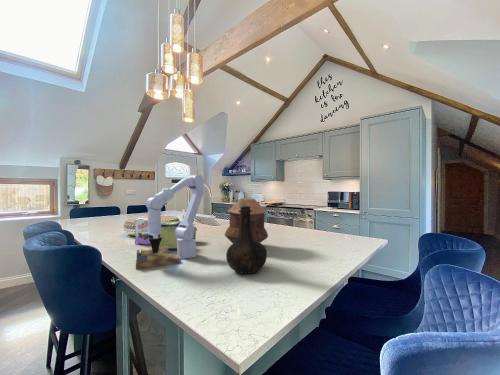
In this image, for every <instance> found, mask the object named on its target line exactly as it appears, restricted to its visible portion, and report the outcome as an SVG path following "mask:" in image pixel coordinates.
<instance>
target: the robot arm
mask: <svg viewBox="0 0 500 375" xmlns="http://www.w3.org/2000/svg"><path fill="white" fill-rule="evenodd" d="M205 184H206V183H205V179H204V176H202V175H201V174H192V175H191V174H190V175H186V176H185V177H183V178H182V179H181V180H179V181H178V182H177V183H176V184H174V185H173V186H172V187H170V188H168V187H167V188H165V187H164V188H162V189H161V191H160V192H158V193H157V194H154V195H153V197H149V198H148V199H147V200H146V203H145V207H146V208H147V218H148V232H146V234H149V235H148V237H149V241H150V243H151V245H150V246H151V248H152V251H153V253H158V250H159V245H160V242H161V240H162V238H159V237H160V234H161V233H162V231H161V222H162V213H161V212H162V208H163V207H164V204H166V203H168V202H169V201H170V200H172V199H173V198H174V196H175V194H176V193H177V192H179V191H181V190H182V189H184V188H186V187H187V188H188V189H189V190H190V191H191V192H192V195H191V197H190V199H189V203H188V206H187V209H186V212H185V214H184V216H183V219H182V221H179V222H180V223H179V226H178V227H177V228H176V229H175V236H176V237H177V251H176V254H177V255H178V256H179V260H184V259H190V258H197V242H196V239H192V238H193V236H194V228H195V227H196V226H195V225H194V222H195V218H196V216H197V213H198V211H199V207H200V204H201V201H202V198H203V196H204V190H205V189H204V187H205ZM194 226H195V227H194Z"/></svg>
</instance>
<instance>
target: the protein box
mask: <svg viewBox="0 0 500 375" xmlns="http://www.w3.org/2000/svg"><path fill="white" fill-rule="evenodd" d="M180 222H181V221H161V231H162V233H161V234H160V237H159V238H162V240H161V242H160V245H159V247H165V246H168V252H169V251H170V252H171V251H172V252H174V251H175V252H177V237H176V236H175V229H176V228H177V227H178V226H179V223H180Z"/></svg>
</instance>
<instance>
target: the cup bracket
mask: <svg viewBox="0 0 500 375" xmlns="http://www.w3.org/2000/svg"><path fill="white" fill-rule="evenodd" d="M136 259H137V263H143V262H147V255H143V256H141V249H137V250H136Z"/></svg>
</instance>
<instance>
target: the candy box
mask: <svg viewBox="0 0 500 375" xmlns="http://www.w3.org/2000/svg"><path fill="white" fill-rule="evenodd" d="M146 232H148V217H147V218H142V217H138V218H135V219H134V244H135V245H150V246H151V243H150V241H149V237H148V235H149V234H146Z"/></svg>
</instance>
